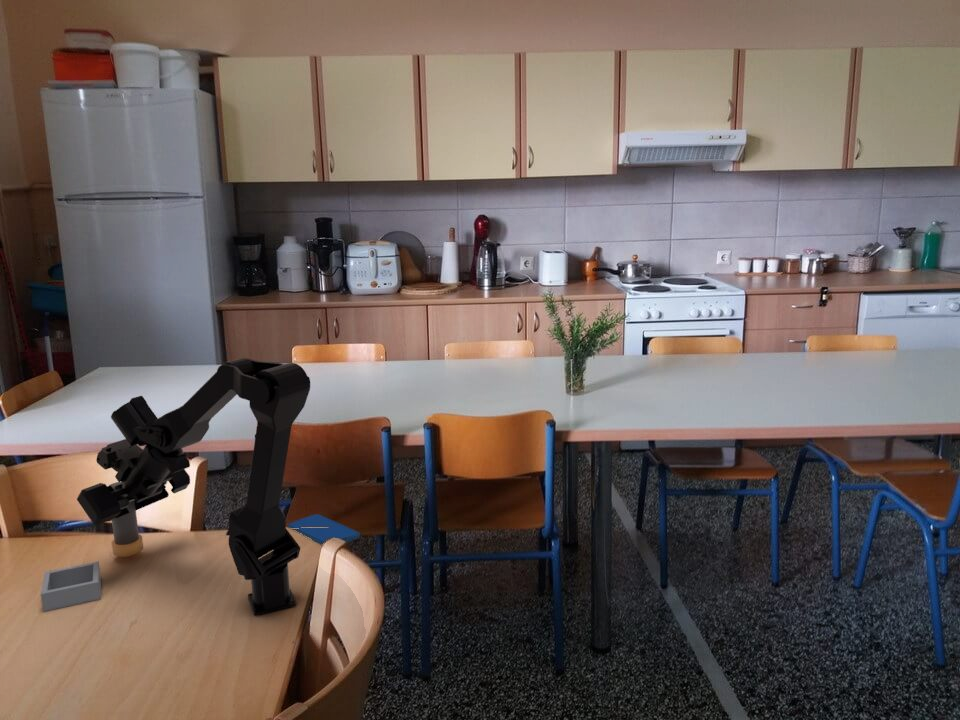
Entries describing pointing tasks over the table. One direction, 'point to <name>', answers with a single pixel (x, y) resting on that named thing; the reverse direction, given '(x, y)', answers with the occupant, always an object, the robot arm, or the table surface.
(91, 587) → the socket
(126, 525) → the plug
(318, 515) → the smartphone
